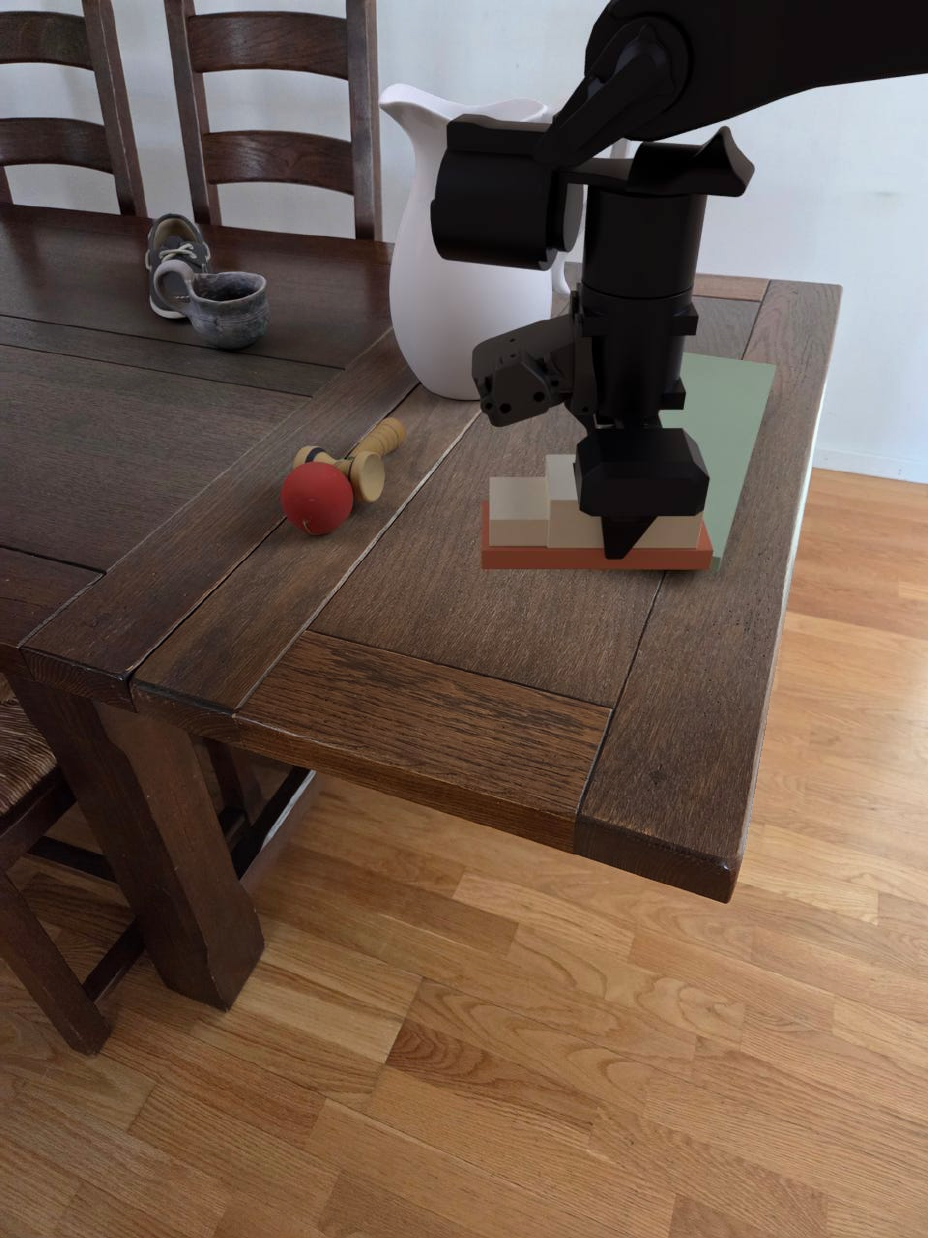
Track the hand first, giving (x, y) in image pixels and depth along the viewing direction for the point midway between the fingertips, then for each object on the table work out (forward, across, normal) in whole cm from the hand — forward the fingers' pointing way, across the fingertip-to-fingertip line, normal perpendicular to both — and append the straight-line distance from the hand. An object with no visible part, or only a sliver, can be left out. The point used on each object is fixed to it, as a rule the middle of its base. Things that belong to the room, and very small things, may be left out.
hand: (608, 530), depth 54 cm
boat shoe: (+11, -72, -49) cm, 88 cm away
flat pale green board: (+11, -26, +11) cm, 31 cm away
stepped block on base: (+1, 0, -1) cm, 1 cm away
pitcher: (+11, -45, -6) cm, 47 cm away
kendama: (+11, -22, -20) cm, 32 cm away
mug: (+11, -55, -40) cm, 69 cm away
